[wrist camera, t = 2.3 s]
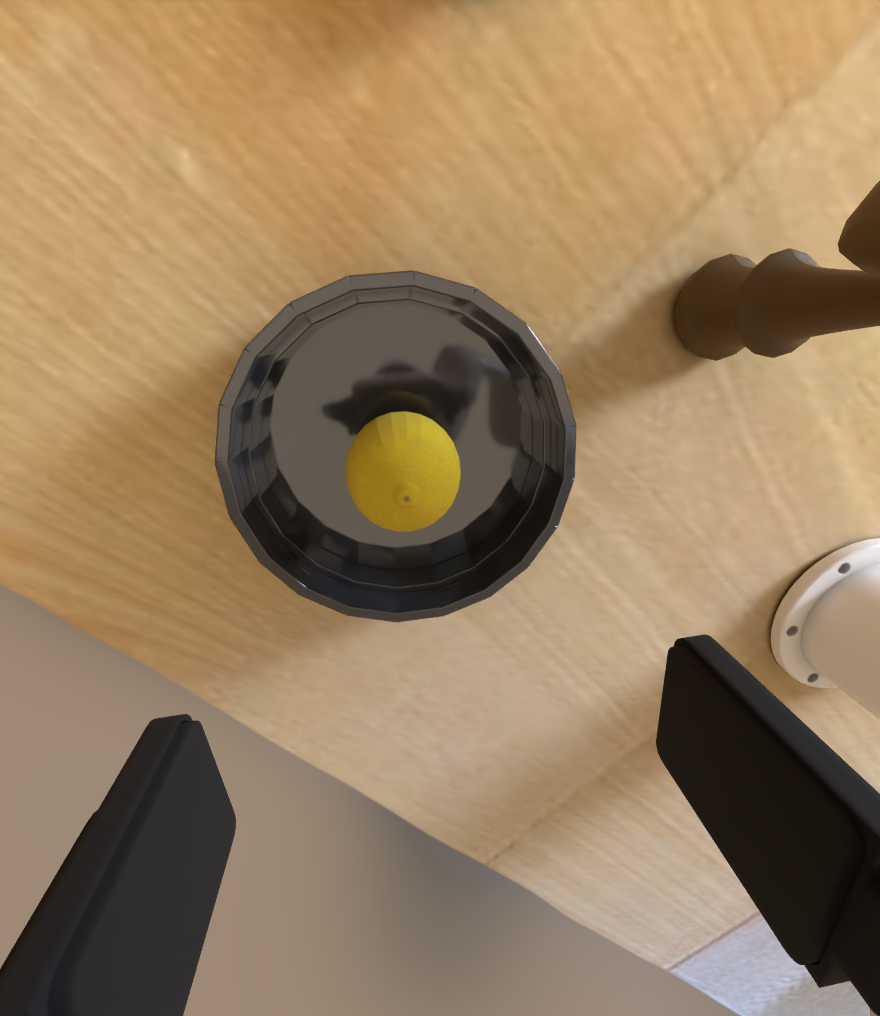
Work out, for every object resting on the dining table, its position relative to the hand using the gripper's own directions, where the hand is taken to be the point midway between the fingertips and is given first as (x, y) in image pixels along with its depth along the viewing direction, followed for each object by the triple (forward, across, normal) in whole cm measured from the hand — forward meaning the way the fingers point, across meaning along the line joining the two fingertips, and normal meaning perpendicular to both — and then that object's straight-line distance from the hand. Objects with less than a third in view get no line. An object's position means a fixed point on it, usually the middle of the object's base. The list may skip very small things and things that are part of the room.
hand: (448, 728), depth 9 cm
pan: (+19, 0, -1) cm, 19 cm away
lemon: (+19, 0, -1) cm, 19 cm away
